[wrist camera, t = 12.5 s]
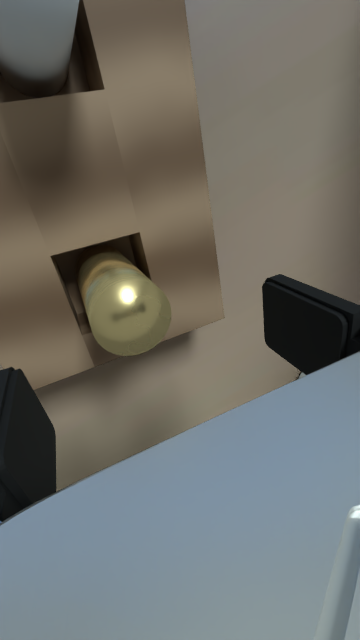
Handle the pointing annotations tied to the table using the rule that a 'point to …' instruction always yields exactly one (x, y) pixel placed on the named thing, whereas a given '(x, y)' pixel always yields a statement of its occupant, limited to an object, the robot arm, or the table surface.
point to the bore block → (104, 186)
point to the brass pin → (121, 302)
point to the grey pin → (36, 44)
